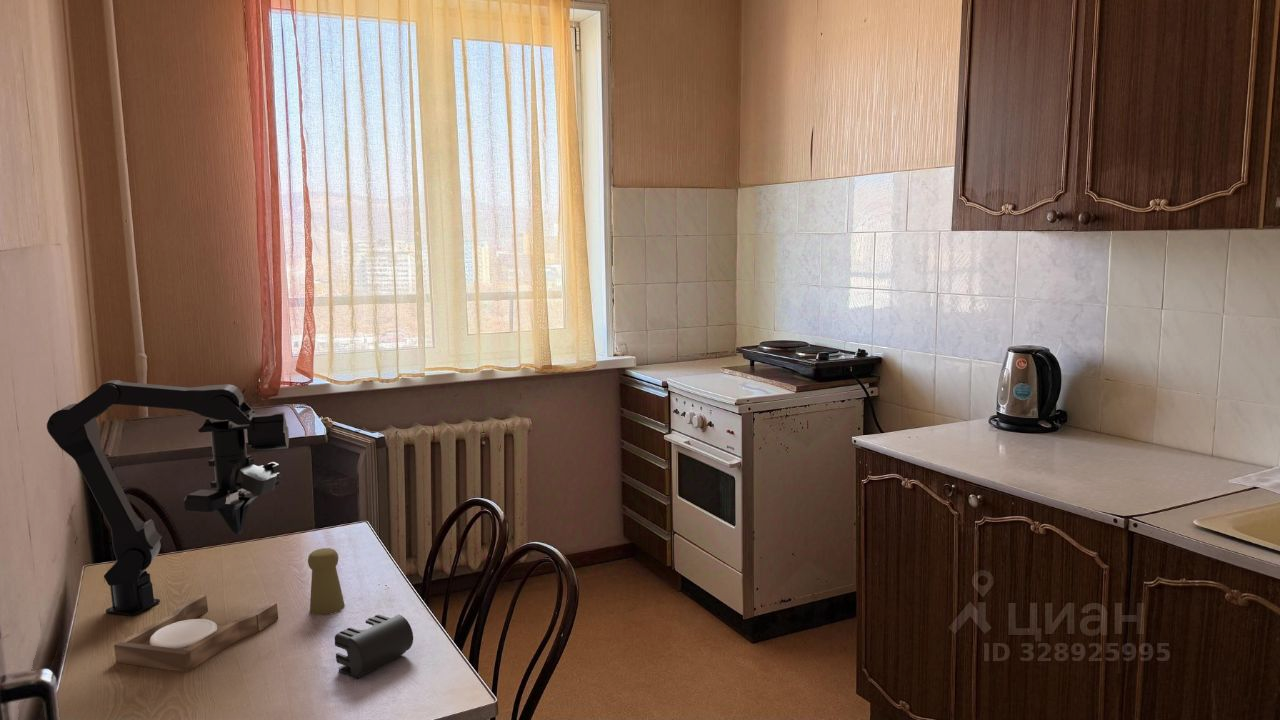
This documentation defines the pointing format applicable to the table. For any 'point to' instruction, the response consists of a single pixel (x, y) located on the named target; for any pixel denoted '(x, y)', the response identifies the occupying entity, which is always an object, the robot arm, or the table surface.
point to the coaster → (183, 633)
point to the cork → (325, 582)
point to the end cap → (373, 644)
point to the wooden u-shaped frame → (144, 654)
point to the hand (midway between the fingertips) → (237, 533)
